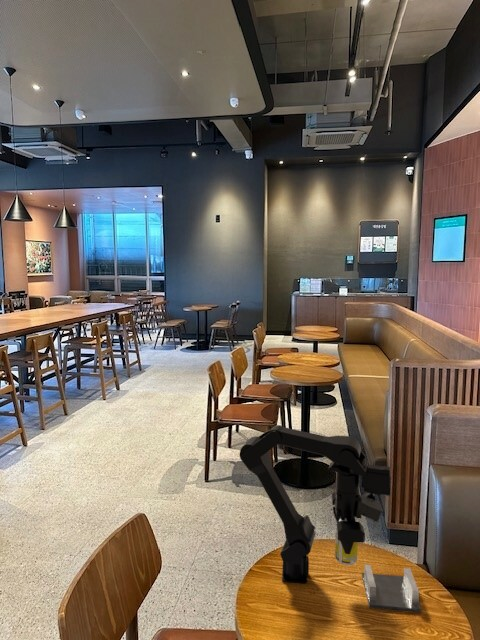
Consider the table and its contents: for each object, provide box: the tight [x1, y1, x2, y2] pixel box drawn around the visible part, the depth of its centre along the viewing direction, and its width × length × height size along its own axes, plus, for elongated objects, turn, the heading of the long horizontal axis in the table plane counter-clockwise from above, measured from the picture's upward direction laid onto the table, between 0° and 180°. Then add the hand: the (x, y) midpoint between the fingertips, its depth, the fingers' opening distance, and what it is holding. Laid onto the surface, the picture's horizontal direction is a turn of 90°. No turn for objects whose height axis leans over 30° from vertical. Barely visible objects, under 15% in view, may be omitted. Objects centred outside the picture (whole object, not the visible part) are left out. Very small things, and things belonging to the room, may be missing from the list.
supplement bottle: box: [334, 519, 359, 566], centre depth 109 cm, size 6×6×10 cm
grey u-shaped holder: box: [361, 564, 422, 614], centre depth 108 cm, size 11×12×4 cm
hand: (346, 546), depth 109 cm, fingers closed on supplement bottle, 5 cm apart
